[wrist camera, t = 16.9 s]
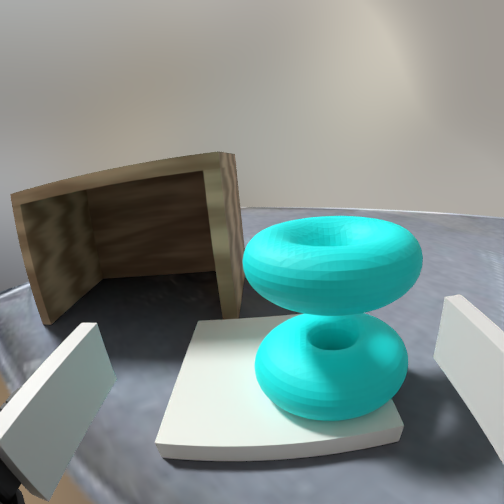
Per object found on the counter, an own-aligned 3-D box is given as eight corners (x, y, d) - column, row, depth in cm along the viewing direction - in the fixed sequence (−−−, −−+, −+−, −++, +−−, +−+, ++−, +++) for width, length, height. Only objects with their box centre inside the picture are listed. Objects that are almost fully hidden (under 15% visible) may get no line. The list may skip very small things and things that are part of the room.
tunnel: (238, 322, 31) (218, 151, 27) (43, 324, 33) (10, 194, 28) (246, 265, 48) (234, 154, 44) (99, 275, 50) (81, 179, 45)
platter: (398, 441, 15) (404, 425, 14) (162, 457, 15) (154, 442, 15) (346, 322, 29) (347, 308, 29) (200, 334, 30) (198, 320, 29)
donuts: (393, 209, 21) (456, 251, 11) (386, 333, 24) (420, 420, 14) (253, 216, 22) (220, 264, 13) (264, 339, 25) (246, 431, 16)
